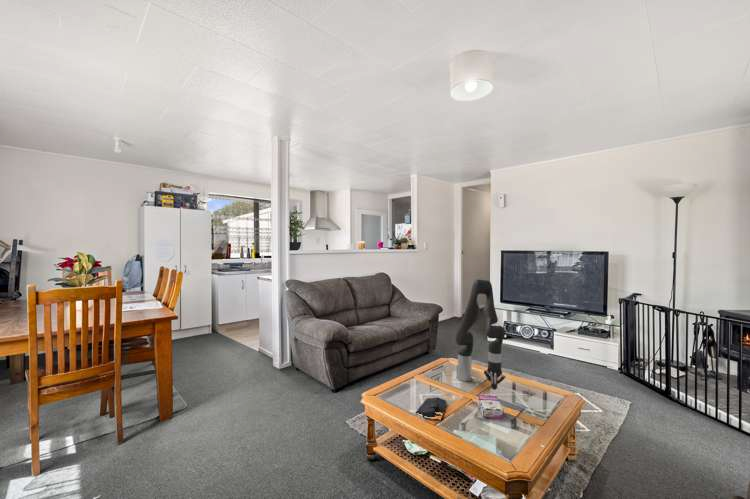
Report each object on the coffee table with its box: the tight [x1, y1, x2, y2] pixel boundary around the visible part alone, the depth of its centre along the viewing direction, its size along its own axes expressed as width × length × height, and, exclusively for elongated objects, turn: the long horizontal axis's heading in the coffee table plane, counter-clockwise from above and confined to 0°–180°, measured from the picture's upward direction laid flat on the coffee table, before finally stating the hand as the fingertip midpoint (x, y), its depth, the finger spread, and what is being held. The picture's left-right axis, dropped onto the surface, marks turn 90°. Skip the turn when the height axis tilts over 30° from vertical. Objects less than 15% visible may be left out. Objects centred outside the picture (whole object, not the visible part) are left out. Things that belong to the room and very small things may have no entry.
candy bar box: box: [476, 394, 505, 419], centre depth 183 cm, size 11×5×16 cm
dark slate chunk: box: [415, 397, 447, 417], centre depth 185 cm, size 15×22×5 cm
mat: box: [497, 398, 525, 421], centre depth 186 cm, size 15×18×1 cm
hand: (494, 389), depth 190 cm, fingers closed
